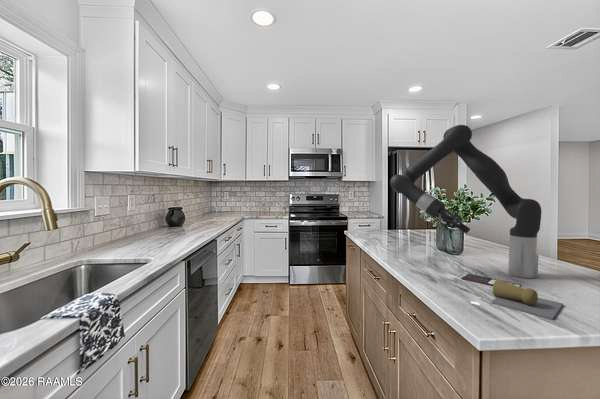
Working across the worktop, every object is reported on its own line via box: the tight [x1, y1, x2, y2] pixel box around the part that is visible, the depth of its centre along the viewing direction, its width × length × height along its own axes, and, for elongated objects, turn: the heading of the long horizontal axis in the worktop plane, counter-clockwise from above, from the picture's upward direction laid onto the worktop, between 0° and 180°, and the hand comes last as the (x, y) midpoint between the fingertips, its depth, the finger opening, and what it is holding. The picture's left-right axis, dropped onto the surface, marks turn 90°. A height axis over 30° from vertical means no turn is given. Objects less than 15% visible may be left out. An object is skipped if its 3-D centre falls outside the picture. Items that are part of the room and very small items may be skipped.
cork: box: [492, 279, 539, 305], centre depth 93 cm, size 6×6×11 cm
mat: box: [491, 297, 564, 321], centre depth 91 cm, size 15×16×1 cm
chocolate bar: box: [461, 273, 522, 288], centre depth 112 cm, size 9×1×18 cm
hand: (468, 231), depth 110 cm, fingers closed
